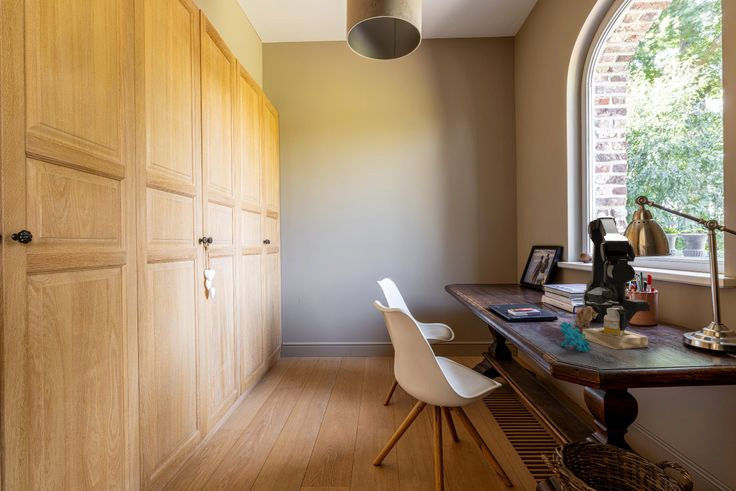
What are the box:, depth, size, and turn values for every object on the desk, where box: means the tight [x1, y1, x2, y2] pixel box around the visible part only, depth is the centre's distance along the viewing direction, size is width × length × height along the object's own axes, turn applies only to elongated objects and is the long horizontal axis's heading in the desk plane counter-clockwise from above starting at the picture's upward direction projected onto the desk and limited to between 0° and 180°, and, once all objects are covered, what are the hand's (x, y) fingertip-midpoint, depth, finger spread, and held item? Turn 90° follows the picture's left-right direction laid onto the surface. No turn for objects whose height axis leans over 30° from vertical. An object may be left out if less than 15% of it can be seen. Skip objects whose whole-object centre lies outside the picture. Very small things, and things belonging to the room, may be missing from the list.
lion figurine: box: [574, 306, 598, 331], centre depth 132 cm, size 15×5×9 cm, turn 168°
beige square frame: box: [582, 327, 649, 350], centre depth 114 cm, size 12×12×3 cm
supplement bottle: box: [603, 307, 624, 336], centre depth 114 cm, size 5×5×10 cm
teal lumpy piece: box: [559, 321, 591, 353], centre depth 108 cm, size 11×6×10 cm
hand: (613, 328), depth 114 cm, fingers closed on supplement bottle, 5 cm apart
